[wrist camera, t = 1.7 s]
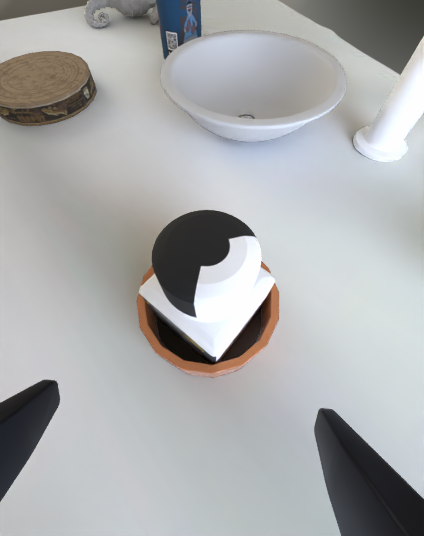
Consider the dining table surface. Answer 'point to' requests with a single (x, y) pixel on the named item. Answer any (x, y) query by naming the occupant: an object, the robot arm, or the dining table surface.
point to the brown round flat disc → (44, 87)
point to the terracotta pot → (201, 369)
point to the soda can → (178, 22)
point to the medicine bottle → (207, 281)
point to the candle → (395, 114)
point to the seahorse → (127, 3)
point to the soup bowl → (252, 83)
